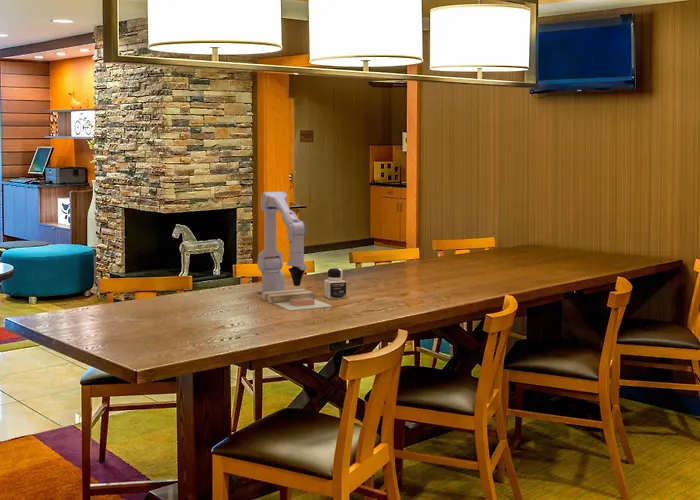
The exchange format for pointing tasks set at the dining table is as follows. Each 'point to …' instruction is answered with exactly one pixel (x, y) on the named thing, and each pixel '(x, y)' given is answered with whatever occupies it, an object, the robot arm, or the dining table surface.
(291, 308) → the mat
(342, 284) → the medicine bottle
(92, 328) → the dining table surface
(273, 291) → the block
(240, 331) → the dining table surface
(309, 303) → the block
